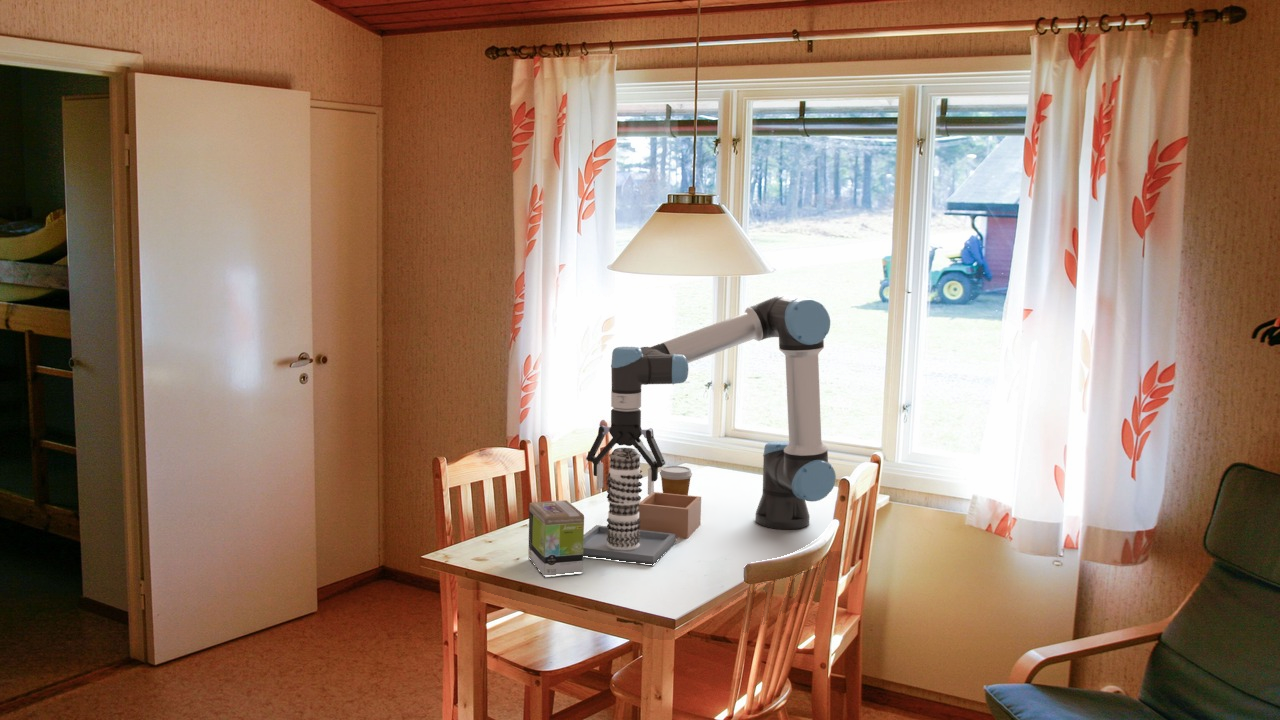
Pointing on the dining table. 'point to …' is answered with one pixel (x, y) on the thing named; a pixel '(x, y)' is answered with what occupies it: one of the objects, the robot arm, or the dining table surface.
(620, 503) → the decorative candle
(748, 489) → the dining table surface
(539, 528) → the tea box
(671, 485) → the disposable coffee cup
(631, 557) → the slate tray
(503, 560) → the dining table surface
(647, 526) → the terracotta holder
